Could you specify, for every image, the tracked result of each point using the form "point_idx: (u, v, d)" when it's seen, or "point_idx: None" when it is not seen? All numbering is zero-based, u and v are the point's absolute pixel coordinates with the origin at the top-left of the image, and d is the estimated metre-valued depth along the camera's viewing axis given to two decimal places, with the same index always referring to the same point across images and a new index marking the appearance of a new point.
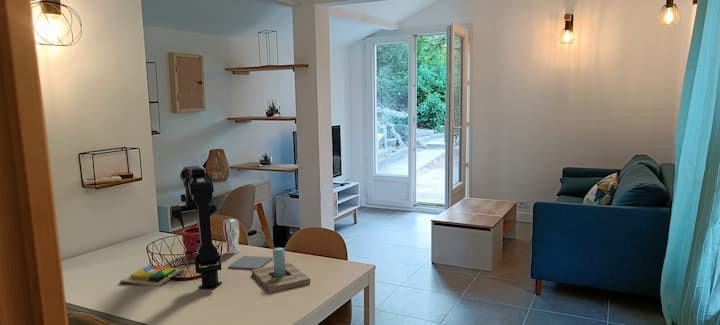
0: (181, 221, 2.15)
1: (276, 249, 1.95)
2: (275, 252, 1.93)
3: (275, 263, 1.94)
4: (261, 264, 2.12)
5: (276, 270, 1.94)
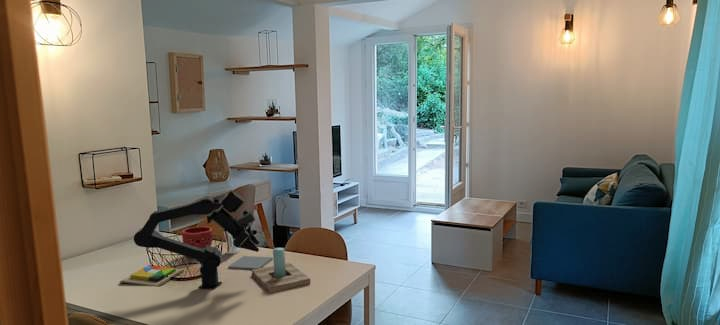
0: None
1: (276, 249, 1.95)
2: (275, 252, 1.93)
3: (275, 263, 1.94)
4: (261, 264, 2.12)
5: (276, 270, 1.94)
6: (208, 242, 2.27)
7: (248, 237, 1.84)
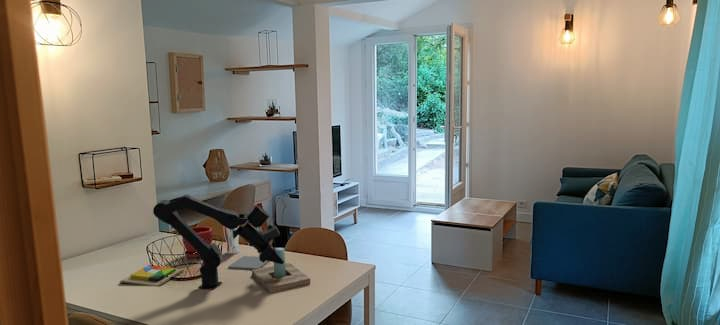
0: None
1: (276, 249, 1.95)
2: None
3: (275, 263, 1.94)
4: (261, 264, 2.12)
5: (276, 270, 1.94)
6: (208, 242, 2.27)
7: (274, 250, 1.89)
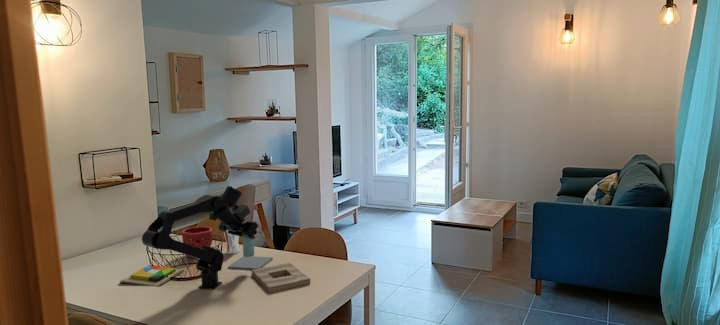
0: None
1: None
2: None
3: (247, 240, 2.03)
4: (261, 264, 2.12)
5: (248, 246, 2.04)
6: (208, 242, 2.27)
7: None
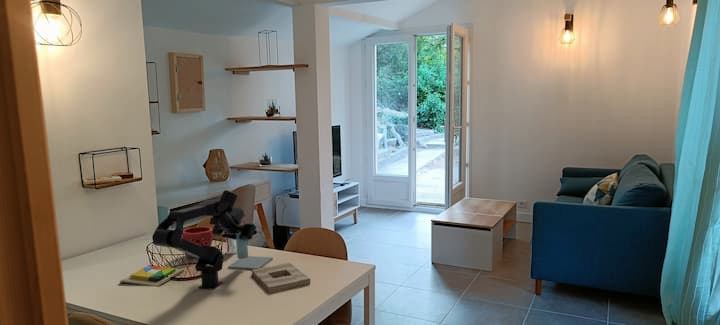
0: (230, 238, 2.08)
1: None
2: None
3: (242, 242, 2.07)
4: (261, 264, 2.12)
5: (243, 248, 2.08)
6: (208, 242, 2.27)
7: None
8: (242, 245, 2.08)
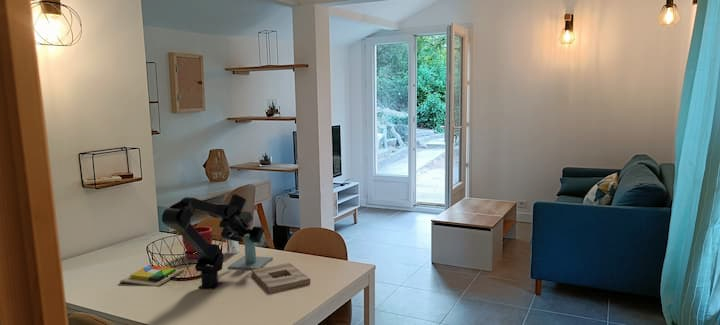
0: (234, 240, 2.14)
1: (248, 235, 2.13)
2: None
3: (250, 247, 2.13)
4: (261, 264, 2.12)
5: (251, 253, 2.13)
6: (208, 242, 2.27)
7: None
8: (250, 250, 2.13)
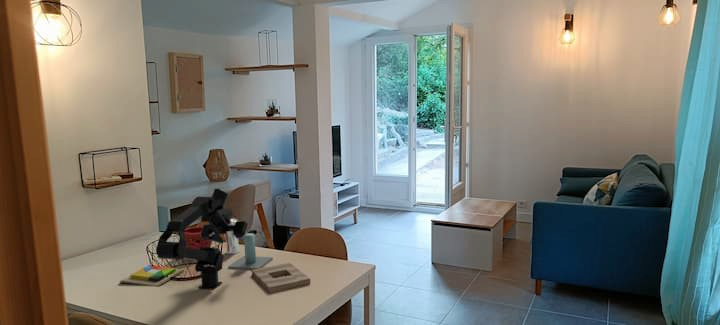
0: None
1: (248, 235, 2.13)
2: (250, 237, 2.12)
3: (250, 247, 2.13)
4: (261, 264, 2.12)
5: (251, 253, 2.13)
6: (208, 242, 2.27)
7: None
8: (250, 250, 2.13)
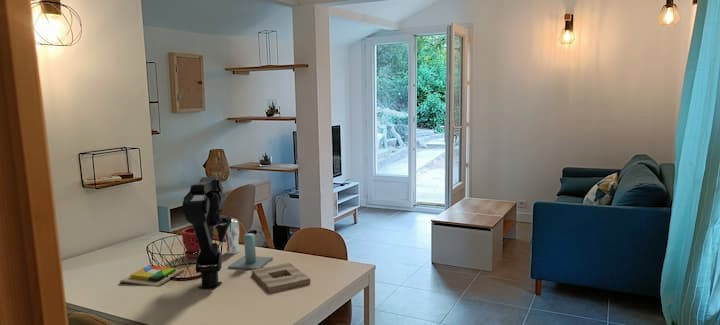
0: (211, 239, 1.96)
1: (248, 235, 2.13)
2: (250, 237, 2.12)
3: (250, 247, 2.13)
4: (261, 264, 2.12)
5: (251, 253, 2.13)
6: None
7: None
8: (250, 250, 2.13)
